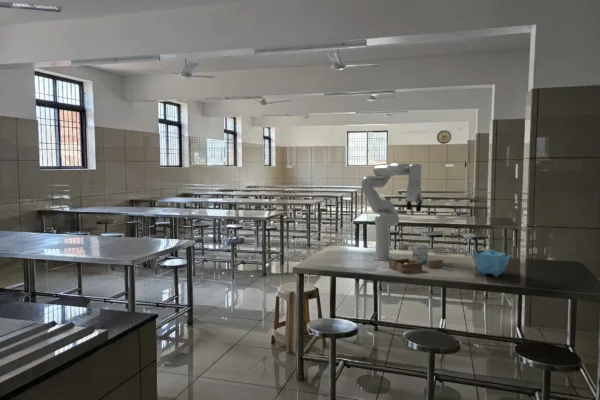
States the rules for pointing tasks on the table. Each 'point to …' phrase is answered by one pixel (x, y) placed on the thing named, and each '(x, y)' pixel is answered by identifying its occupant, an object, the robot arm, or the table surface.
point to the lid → (436, 264)
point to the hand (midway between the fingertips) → (413, 210)
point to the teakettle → (491, 262)
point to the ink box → (420, 253)
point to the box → (405, 265)
